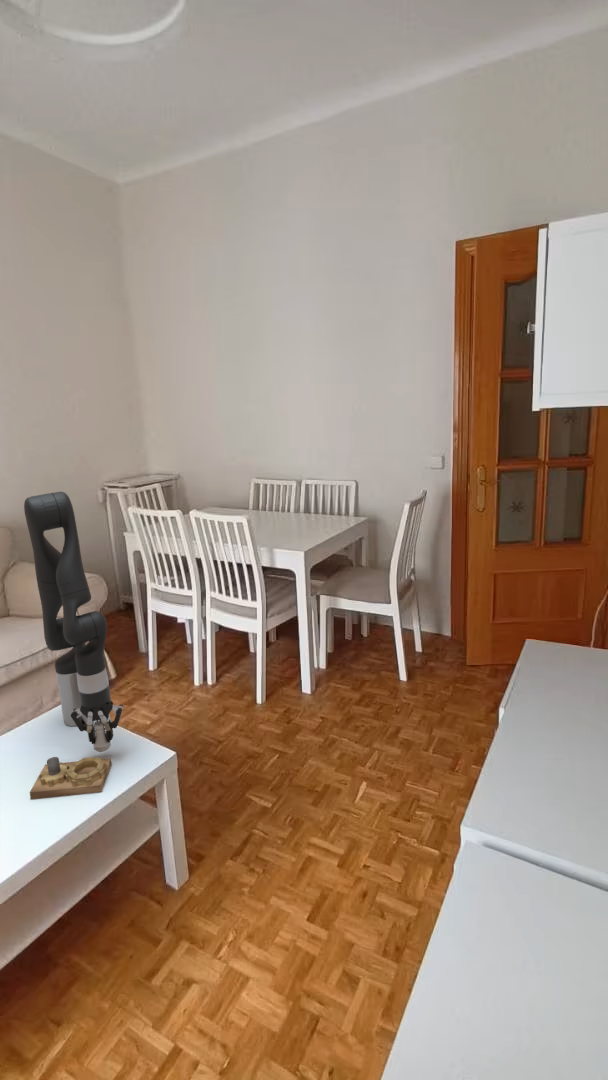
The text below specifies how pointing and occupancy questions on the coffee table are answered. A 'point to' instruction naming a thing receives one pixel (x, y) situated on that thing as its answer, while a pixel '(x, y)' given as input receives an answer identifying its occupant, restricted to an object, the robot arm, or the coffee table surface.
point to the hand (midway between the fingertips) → (101, 741)
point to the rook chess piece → (100, 737)
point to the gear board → (68, 785)
